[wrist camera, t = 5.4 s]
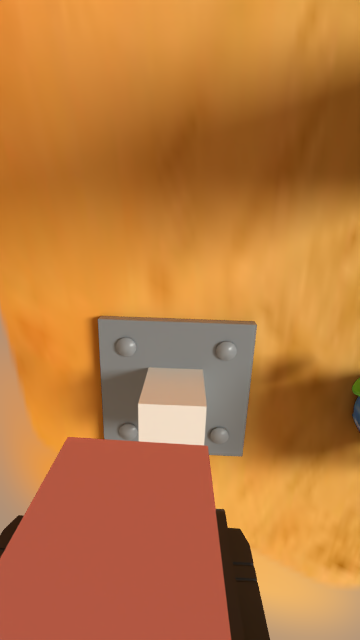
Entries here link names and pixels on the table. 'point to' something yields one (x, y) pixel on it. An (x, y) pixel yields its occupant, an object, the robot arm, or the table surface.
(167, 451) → the red brick
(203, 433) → the cream brick
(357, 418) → the snack cup
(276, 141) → the table surface
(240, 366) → the base plate
